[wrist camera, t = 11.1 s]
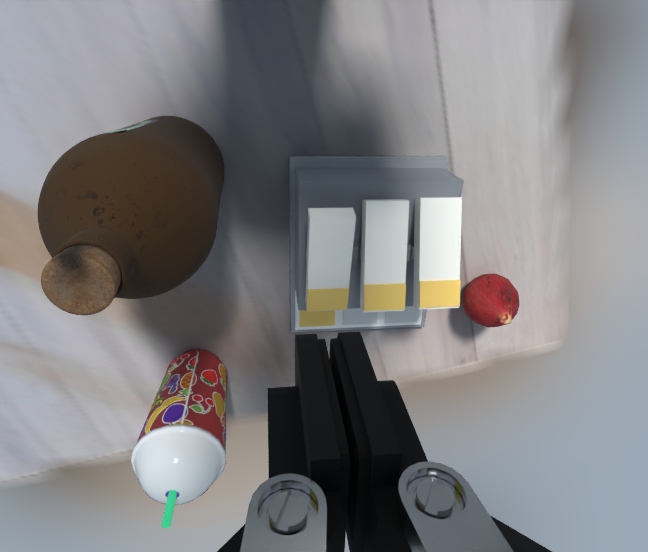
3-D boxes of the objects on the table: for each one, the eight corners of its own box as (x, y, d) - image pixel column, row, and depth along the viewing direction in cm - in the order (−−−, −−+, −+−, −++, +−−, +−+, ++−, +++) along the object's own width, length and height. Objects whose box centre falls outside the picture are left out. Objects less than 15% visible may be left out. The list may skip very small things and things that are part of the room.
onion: (468, 256, 51) (501, 288, 44) (508, 271, 52) (547, 305, 45) (443, 298, 53) (471, 336, 46) (483, 311, 55) (516, 350, 47)
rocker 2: (360, 198, 40) (366, 201, 38) (400, 198, 41) (410, 200, 38) (357, 303, 43) (363, 313, 40) (396, 302, 43) (404, 311, 41)
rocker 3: (411, 199, 42) (421, 197, 39) (450, 198, 42) (462, 197, 39) (409, 303, 43) (419, 309, 40) (447, 302, 43) (459, 308, 41)
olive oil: (253, 170, 44) (244, 288, 21) (179, 240, 46) (100, 412, 24) (168, 81, 39) (45, 112, 17) (91, 162, 41) (-108, 284, 19)
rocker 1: (307, 202, 38) (310, 218, 36) (350, 202, 38) (356, 217, 36) (304, 294, 44) (306, 312, 42) (342, 292, 44) (346, 311, 42)
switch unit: (289, 155, 43) (294, 173, 37) (446, 156, 45) (477, 173, 39) (290, 329, 52) (294, 368, 46) (422, 323, 54) (444, 360, 48)
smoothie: (157, 341, 51) (99, 495, 33) (231, 336, 52) (214, 484, 34) (167, 398, 54) (121, 564, 37) (236, 393, 55) (224, 552, 38)
